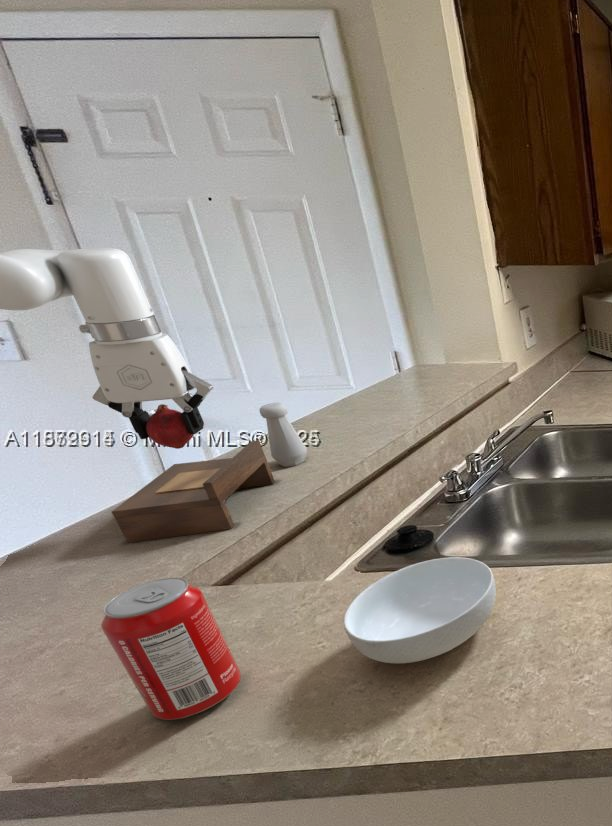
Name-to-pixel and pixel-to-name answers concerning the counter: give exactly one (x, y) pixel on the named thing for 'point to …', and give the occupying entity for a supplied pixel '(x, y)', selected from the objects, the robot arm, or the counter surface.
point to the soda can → (171, 647)
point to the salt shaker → (283, 436)
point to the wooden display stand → (191, 496)
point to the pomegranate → (168, 428)
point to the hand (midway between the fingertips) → (172, 432)
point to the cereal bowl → (421, 610)
